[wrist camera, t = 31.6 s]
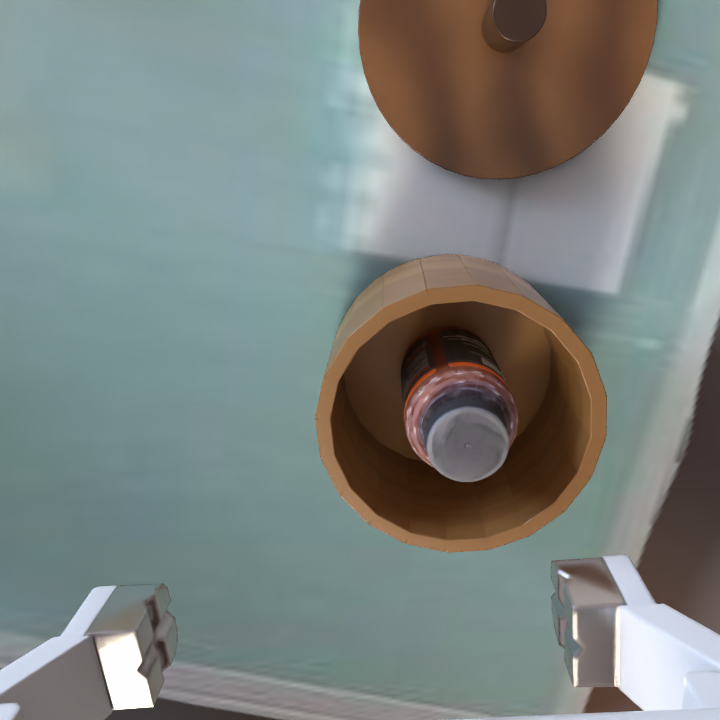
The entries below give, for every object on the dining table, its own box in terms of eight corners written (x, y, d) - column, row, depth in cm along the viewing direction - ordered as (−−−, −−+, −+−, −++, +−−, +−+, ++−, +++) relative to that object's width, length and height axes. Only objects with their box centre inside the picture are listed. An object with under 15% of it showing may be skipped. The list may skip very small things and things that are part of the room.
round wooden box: (385, 499, 46) (384, 586, 37) (294, 309, 42) (268, 355, 33) (591, 424, 44) (643, 497, 35) (515, 215, 40) (550, 237, 31)
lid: (423, 221, 40) (428, 232, 35) (312, -52, 36) (299, -82, 31) (684, 107, 38) (729, 101, 33) (597, -202, 33) (633, -261, 28)
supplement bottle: (395, 408, 43) (397, 495, 33) (405, 319, 42) (409, 381, 31) (487, 416, 43) (519, 507, 33) (501, 328, 42) (539, 393, 31)
